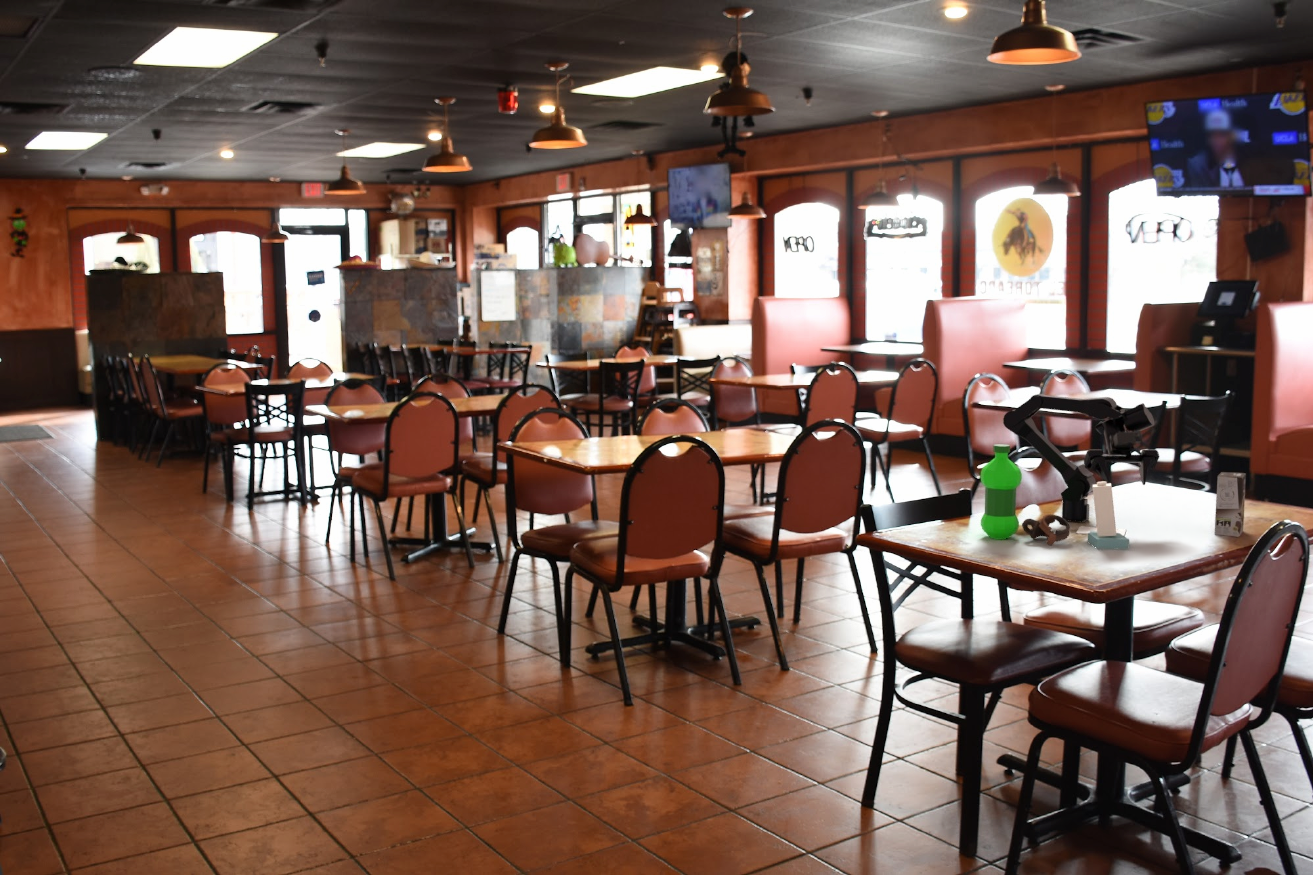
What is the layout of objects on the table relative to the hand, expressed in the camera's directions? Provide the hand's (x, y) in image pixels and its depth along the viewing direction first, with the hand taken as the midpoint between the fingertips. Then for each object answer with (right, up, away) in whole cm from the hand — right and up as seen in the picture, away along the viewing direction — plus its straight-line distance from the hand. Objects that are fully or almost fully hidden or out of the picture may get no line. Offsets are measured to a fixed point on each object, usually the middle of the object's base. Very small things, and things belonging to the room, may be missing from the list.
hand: (1126, 484), depth 321 cm
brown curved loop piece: (-24, -15, -7) cm, 30 cm away
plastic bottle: (-35, -15, -1) cm, 38 cm away
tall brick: (-10, -13, -13) cm, 21 cm away
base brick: (-10, -16, -13) cm, 23 cm away
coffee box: (+28, -14, +1) cm, 31 cm away
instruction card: (-5, -13, +4) cm, 15 cm away
